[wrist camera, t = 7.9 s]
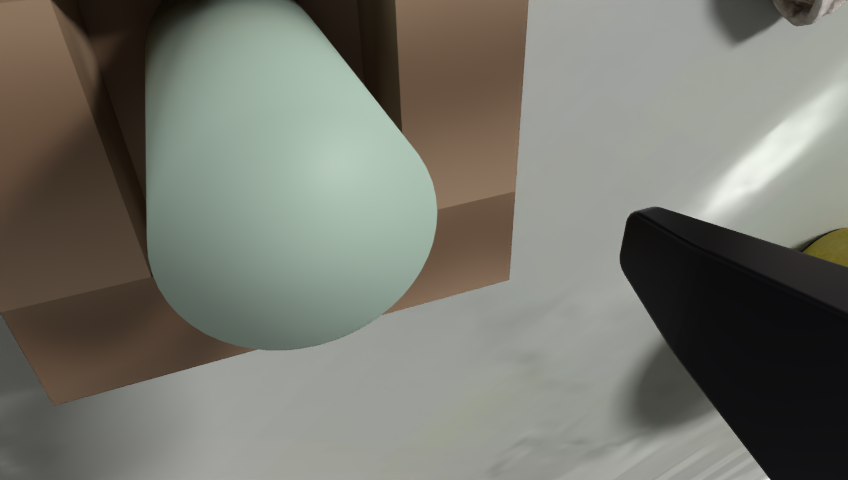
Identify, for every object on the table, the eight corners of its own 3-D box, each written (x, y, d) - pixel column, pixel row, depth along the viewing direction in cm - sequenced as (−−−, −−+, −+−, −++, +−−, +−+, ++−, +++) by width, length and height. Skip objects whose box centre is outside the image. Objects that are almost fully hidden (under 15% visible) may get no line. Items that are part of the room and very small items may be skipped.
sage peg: (328, 125, 17) (437, 314, 11) (168, 151, 16) (187, 378, 9) (310, -37, 14) (436, 82, 8) (122, -21, 13) (105, 131, 7)
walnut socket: (454, 209, 21) (509, 279, 18) (65, 300, 18) (53, 406, 15) (455, -239, 14) (545, -245, 11) (-187, -221, 11) (-307, -220, 8)
